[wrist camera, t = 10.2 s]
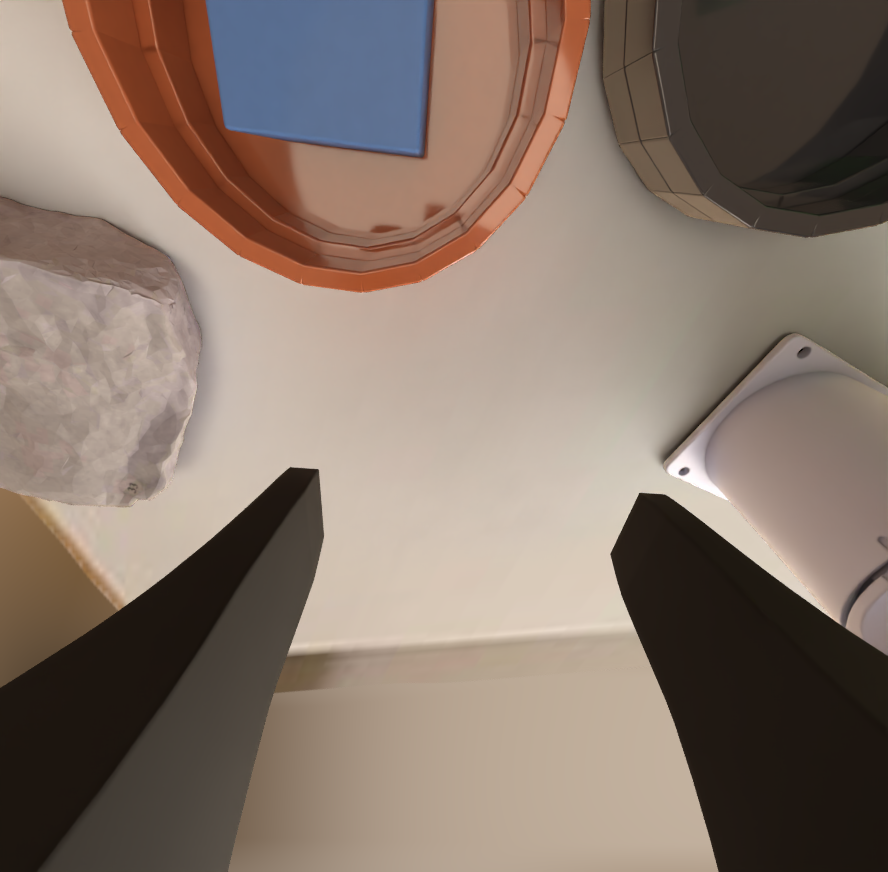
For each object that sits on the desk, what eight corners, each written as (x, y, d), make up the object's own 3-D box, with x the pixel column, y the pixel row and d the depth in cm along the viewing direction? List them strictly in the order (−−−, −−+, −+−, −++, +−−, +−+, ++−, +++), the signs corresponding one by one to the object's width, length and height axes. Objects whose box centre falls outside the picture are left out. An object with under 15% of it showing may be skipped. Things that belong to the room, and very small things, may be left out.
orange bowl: (632, -68, 11) (715, -169, 8) (445, 315, 17) (447, 352, 13) (182, -449, 8) (9, -865, 5) (139, 167, 14) (44, 167, 11)
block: (436, -43, 11) (436, -153, 7) (424, 158, 13) (419, 153, 10) (266, -70, 11) (172, -199, 7) (284, 140, 13) (222, 129, 9)
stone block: (220, 241, 17) (-125, 148, 13) (186, 279, 13) (-303, 164, 10) (215, 458, 23) (-17, 433, 20) (192, 525, 20) (-99, 508, 16)
